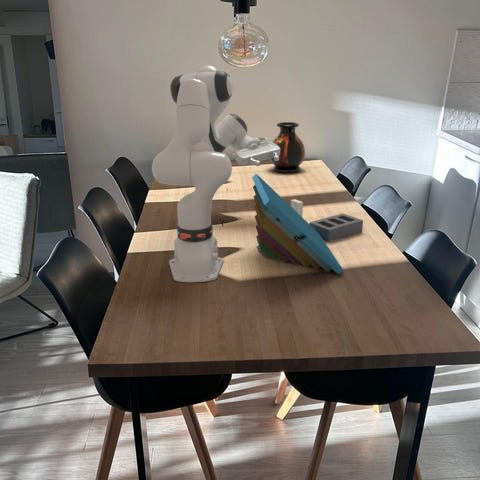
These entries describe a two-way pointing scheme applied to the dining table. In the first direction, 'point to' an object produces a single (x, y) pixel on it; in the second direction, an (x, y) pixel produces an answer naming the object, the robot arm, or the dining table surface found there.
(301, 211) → the white rectangular block
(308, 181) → the dining table surface
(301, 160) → the black and orange vase
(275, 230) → the stacked coloured sheets
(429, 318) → the dining table surface
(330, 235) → the stand
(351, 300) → the dining table surface
